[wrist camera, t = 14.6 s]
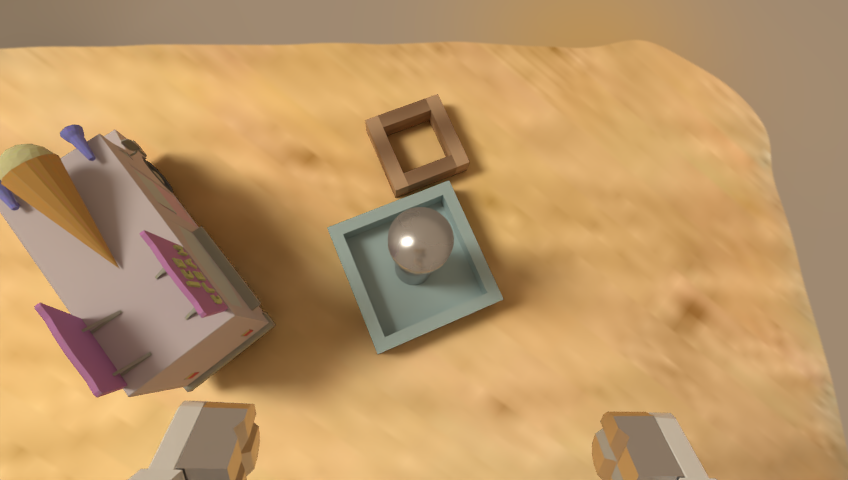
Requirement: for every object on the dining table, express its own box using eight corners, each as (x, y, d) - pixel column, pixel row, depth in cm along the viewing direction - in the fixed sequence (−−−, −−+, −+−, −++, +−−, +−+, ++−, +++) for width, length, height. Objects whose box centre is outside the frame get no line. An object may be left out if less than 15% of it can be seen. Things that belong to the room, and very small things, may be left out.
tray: (497, 302, 42) (503, 299, 39) (378, 353, 40) (377, 354, 38) (445, 189, 44) (449, 180, 41) (330, 234, 42) (327, 227, 40)
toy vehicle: (156, 148, 43) (35, 44, 28) (289, 320, 40) (231, 304, 26) (61, 210, 41) (-122, 134, 26) (193, 395, 38) (73, 424, 24)
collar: (466, 170, 44) (469, 162, 42) (395, 197, 43) (395, 190, 41) (435, 105, 45) (437, 94, 43) (366, 130, 44) (365, 120, 42)
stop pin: (445, 280, 41) (464, 257, 30) (399, 298, 41) (402, 282, 30) (426, 235, 42) (438, 197, 31) (381, 253, 41) (377, 220, 31)
